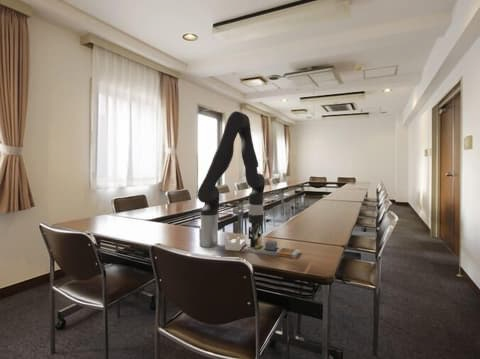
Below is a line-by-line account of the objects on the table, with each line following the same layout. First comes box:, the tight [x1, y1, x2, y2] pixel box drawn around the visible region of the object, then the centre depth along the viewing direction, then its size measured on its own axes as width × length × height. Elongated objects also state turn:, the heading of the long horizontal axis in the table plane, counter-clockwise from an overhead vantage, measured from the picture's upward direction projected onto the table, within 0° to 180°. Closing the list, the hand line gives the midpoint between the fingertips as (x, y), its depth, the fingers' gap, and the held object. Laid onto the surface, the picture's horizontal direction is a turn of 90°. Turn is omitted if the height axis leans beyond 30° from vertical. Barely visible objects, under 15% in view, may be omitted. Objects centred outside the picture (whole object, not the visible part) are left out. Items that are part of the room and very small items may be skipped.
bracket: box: [224, 235, 246, 252], centre depth 145 cm, size 13×7×8 cm, turn 164°
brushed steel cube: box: [264, 240, 278, 252], centre depth 136 cm, size 4×4×5 cm
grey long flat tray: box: [243, 243, 300, 259], centre depth 136 cm, size 26×9×3 cm, turn 65°
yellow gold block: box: [249, 236, 263, 250], centre depth 139 cm, size 4×4×6 cm
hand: (256, 244), depth 139 cm, fingers open, 8 cm apart
